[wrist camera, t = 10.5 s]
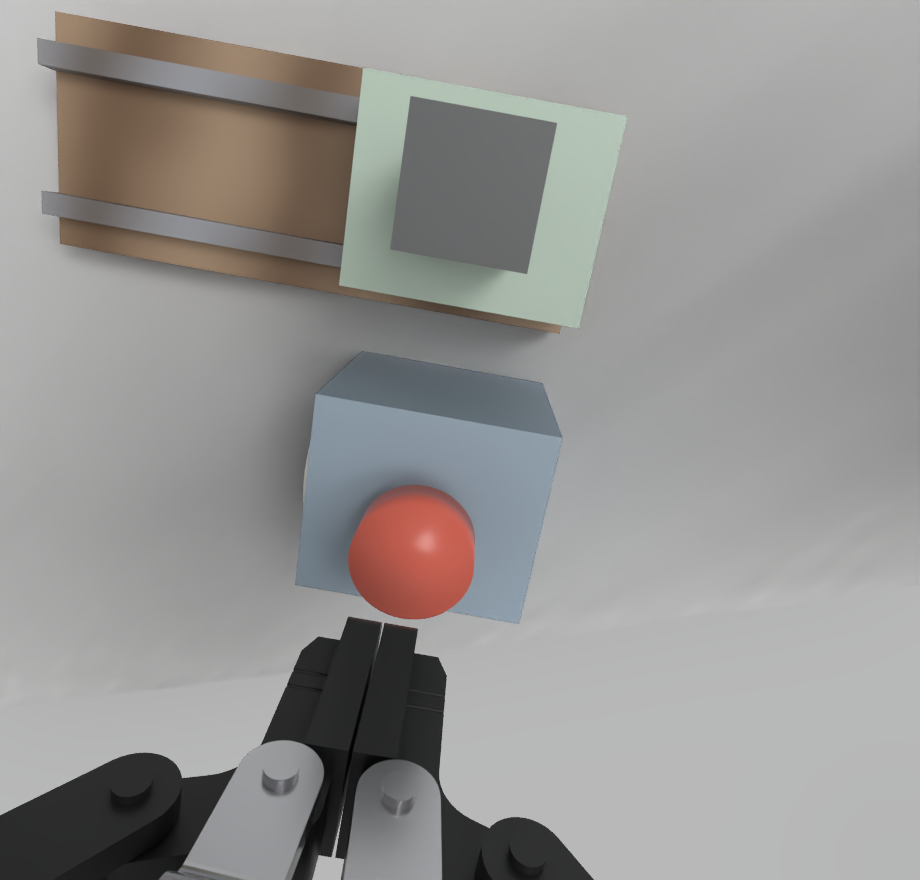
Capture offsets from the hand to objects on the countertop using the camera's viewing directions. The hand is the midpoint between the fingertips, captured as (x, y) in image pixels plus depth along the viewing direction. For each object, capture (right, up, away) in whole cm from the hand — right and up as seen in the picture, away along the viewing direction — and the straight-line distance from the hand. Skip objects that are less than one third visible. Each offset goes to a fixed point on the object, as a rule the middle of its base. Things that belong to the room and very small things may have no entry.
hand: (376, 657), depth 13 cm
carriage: (+2, +13, +9) cm, 16 cm away
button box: (+1, +4, +15) cm, 16 cm away
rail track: (-3, +15, +12) cm, 20 cm away
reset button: (0, +2, +6) cm, 6 cm away
